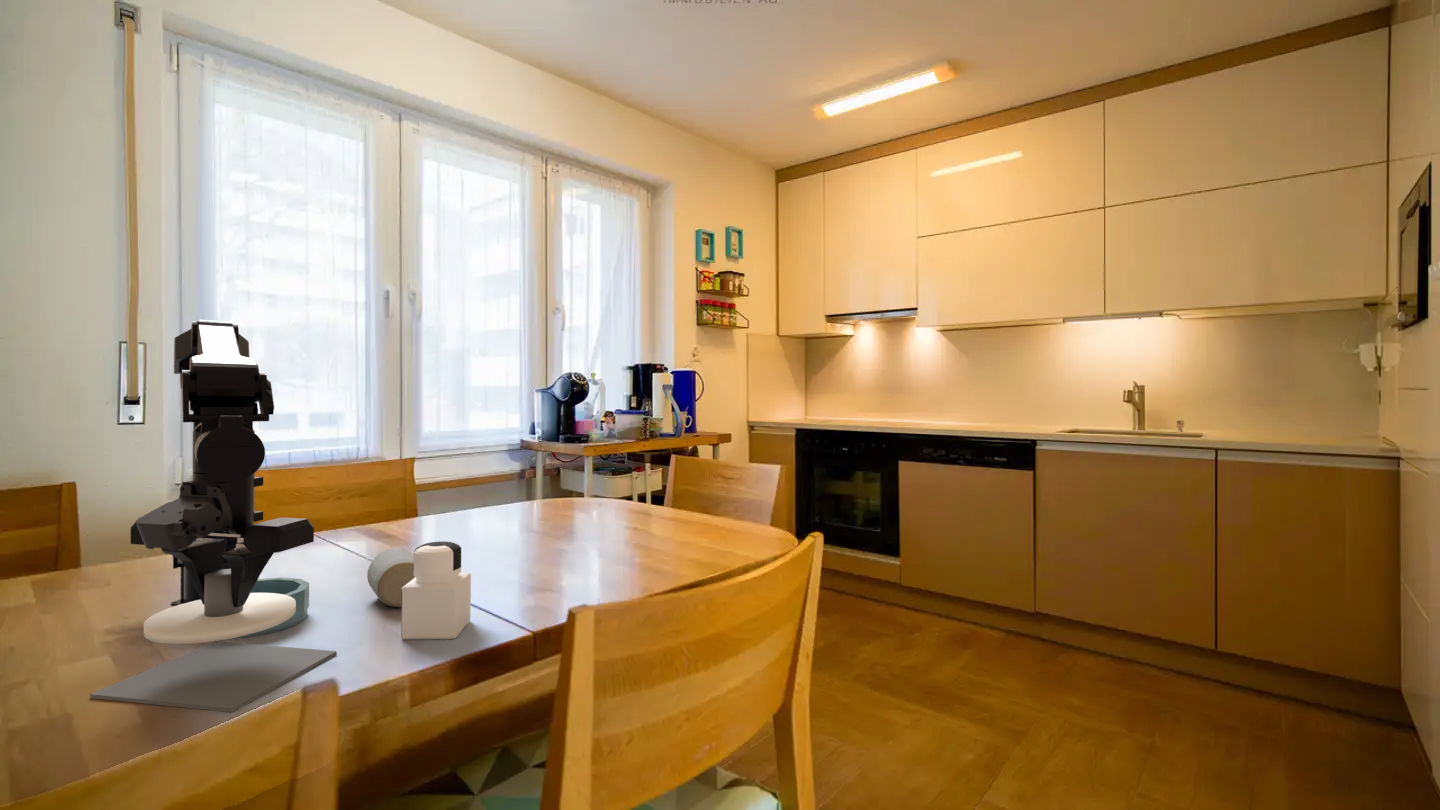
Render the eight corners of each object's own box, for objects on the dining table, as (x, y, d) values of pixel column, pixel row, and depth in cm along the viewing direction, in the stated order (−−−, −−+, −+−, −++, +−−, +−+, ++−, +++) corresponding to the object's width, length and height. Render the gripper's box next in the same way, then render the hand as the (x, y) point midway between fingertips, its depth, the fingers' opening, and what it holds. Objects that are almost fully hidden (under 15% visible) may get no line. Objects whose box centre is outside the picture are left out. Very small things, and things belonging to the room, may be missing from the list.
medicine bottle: (419, 621, 95) (420, 538, 94) (471, 620, 95) (472, 538, 95) (400, 640, 88) (401, 550, 87) (455, 639, 88) (456, 550, 88)
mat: (90, 697, 70) (90, 694, 70) (216, 644, 85) (216, 641, 85) (232, 712, 68) (232, 708, 68) (336, 654, 83) (336, 651, 83)
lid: (107, 638, 70) (107, 587, 70) (223, 597, 84) (223, 554, 84) (224, 648, 68) (224, 596, 68) (323, 604, 82) (323, 561, 82)
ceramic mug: (376, 613, 98) (377, 561, 97) (366, 598, 104) (367, 550, 104) (451, 602, 104) (452, 553, 104) (437, 588, 110) (438, 543, 110)
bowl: (179, 634, 88) (179, 600, 88) (254, 605, 100) (254, 575, 100) (260, 640, 86) (260, 606, 86) (326, 610, 98) (327, 580, 98)
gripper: (77, 476, 69) (77, 624, 70) (236, 484, 67) (235, 637, 67) (178, 464, 80) (178, 591, 81) (317, 470, 78) (316, 602, 78)
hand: (223, 605), depth 76 cm, fingers closed on lid, 4 cm apart
